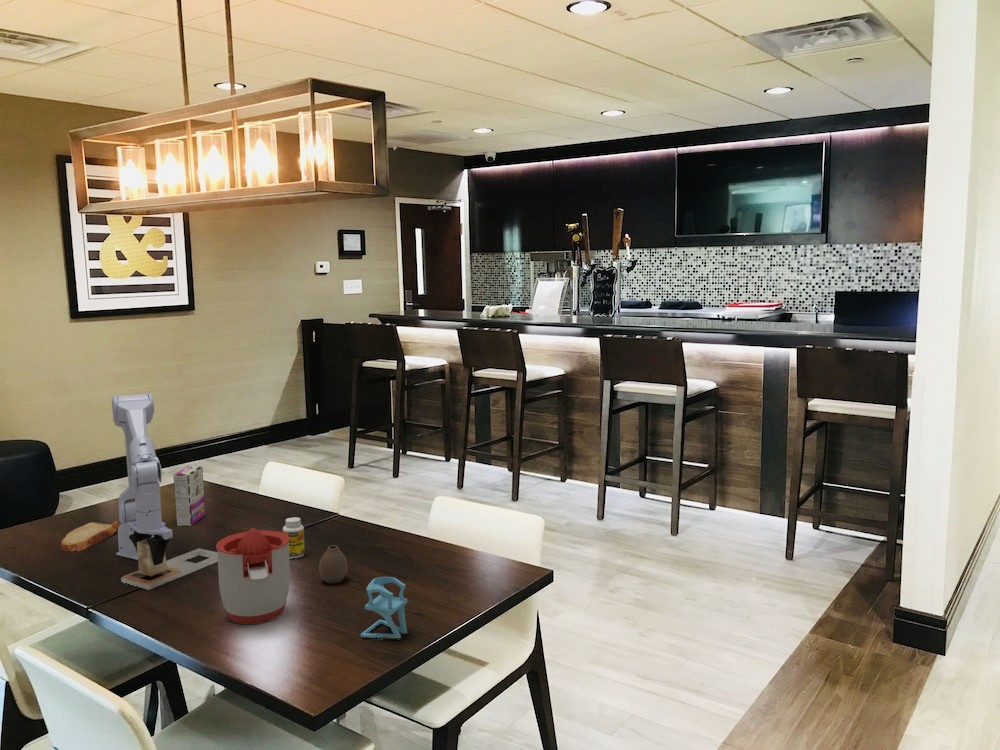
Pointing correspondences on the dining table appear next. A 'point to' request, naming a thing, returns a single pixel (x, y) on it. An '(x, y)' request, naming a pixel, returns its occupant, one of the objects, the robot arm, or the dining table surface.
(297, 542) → the supplement bottle
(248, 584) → the citrus juicer
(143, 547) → the birch peg
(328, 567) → the vase
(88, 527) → the bread slice
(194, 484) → the candy bar box
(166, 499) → the dining table surface
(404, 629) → the chair
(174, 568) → the rail
